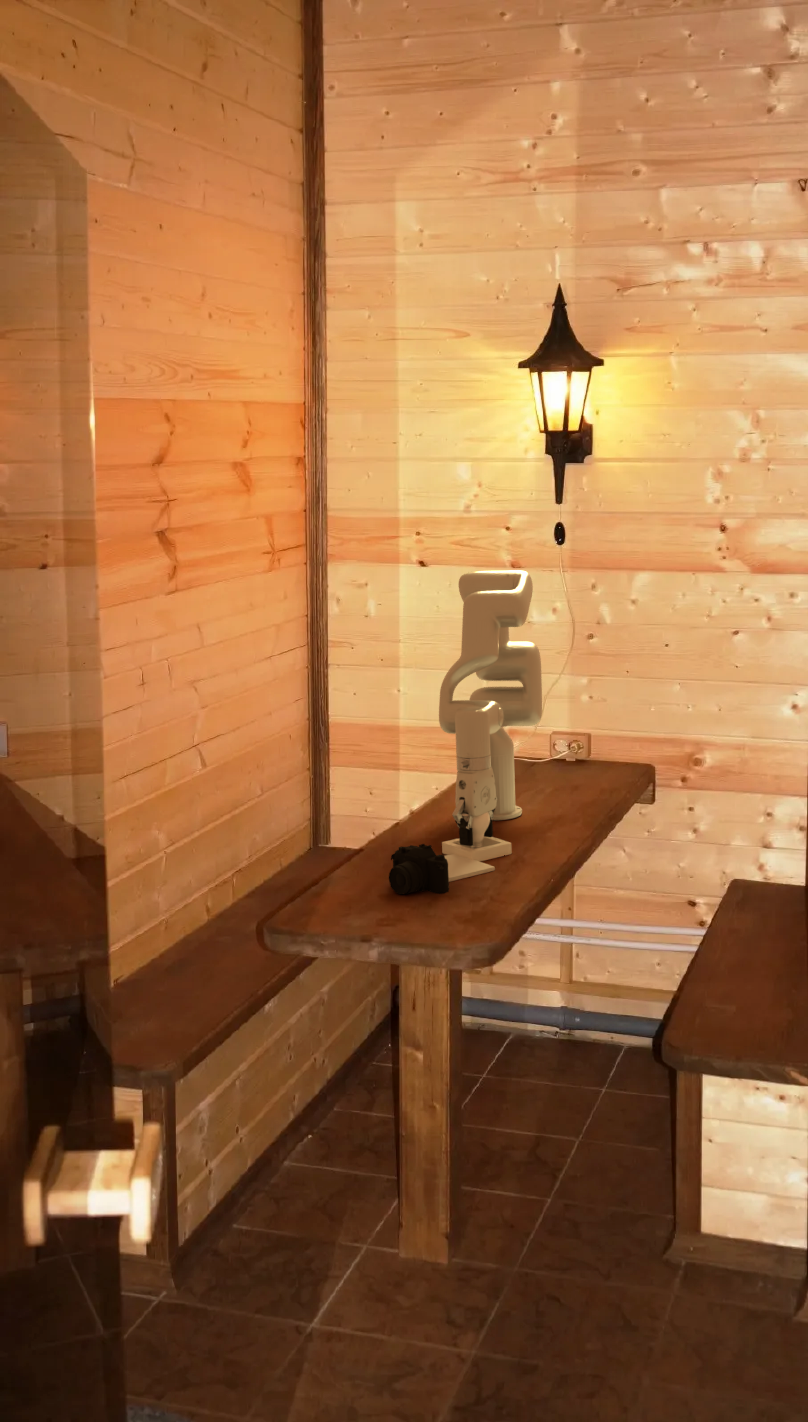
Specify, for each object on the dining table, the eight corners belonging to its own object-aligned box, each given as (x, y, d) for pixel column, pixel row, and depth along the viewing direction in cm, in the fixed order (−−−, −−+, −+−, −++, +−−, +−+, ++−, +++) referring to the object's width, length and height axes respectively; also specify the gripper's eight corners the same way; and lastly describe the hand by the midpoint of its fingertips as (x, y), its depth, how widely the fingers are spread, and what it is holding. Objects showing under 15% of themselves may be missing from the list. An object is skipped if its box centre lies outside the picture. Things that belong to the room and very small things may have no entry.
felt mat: (403, 869, 317) (403, 865, 317) (456, 856, 324) (455, 853, 324) (441, 883, 305) (441, 879, 305) (494, 870, 313) (494, 866, 313)
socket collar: (442, 852, 328) (441, 842, 327) (481, 843, 334) (481, 833, 333) (471, 863, 319) (471, 852, 318) (511, 853, 325) (511, 842, 324)
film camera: (371, 888, 305) (369, 846, 303) (405, 877, 311) (403, 836, 309) (422, 902, 294) (420, 859, 292) (456, 891, 300) (454, 848, 299)
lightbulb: (494, 850, 328) (492, 802, 326) (486, 858, 322) (485, 809, 320) (467, 848, 330) (465, 801, 328) (459, 856, 324) (457, 808, 322)
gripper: (466, 772, 313) (469, 852, 317) (509, 756, 327) (511, 833, 330) (437, 769, 318) (440, 848, 321) (480, 753, 332) (483, 829, 335)
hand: (476, 840), depth 326 cm, fingers open, 7 cm apart
